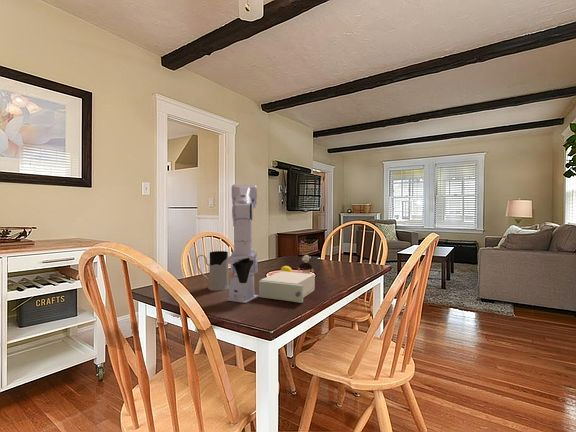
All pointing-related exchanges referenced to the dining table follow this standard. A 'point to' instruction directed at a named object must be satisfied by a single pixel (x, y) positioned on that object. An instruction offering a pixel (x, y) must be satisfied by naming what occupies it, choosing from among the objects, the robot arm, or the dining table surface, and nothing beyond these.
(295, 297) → the door
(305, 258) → the grandmother figurine
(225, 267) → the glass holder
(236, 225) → the robot arm
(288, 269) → the lemon
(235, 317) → the dining table surface
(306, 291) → the cabinet
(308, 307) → the dining table surface
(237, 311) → the dining table surface
